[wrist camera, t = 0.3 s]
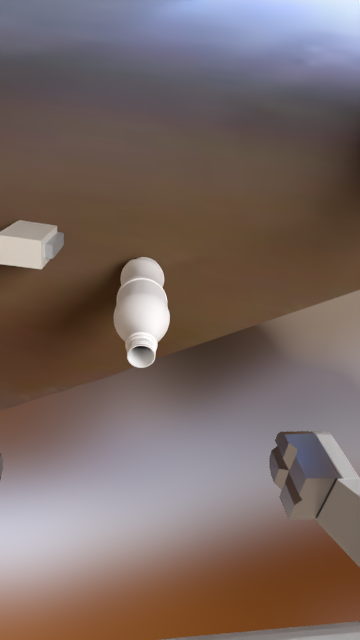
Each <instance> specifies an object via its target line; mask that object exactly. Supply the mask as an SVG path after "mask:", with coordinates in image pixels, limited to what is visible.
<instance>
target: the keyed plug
mask: <svg viewBox="0 0 360 640" xmlns="http://www.w3.org/2000/svg"><path fill="white" fill-rule="evenodd" d="M63 245H64V233H60V232H57V226H55V225H48V224H41V223H35V222H28V221H21V220H19V221H17V222H15V223H14V224H12V225H11V226H9V227H7V228H6V229H4V230H2V231H1V232H0V264H4V265H12V266H20V267H28V268H36V269H42V268H43V267H44V266H45V265H46V263H47V262H48V261H49V260H50V259H53V258H54V257H55V255H56V254H57V253H58V252H59V250H60V249H61V248H62V247H63Z"/></svg>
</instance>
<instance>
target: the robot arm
mask: <svg viewBox="0 0 360 640" xmlns="http://www.w3.org/2000/svg"><path fill="white" fill-rule="evenodd" d="M275 441H276V444H277V447H276V448H274V449H273V450H272V451H271V455H270V471H271V476H272V478H273V481H274V483H275V484H276V485H277V486H278V487H279V488H281V489H282V491H281V494H280V499H281V502H282V504H283V507H284V509H285V512H286V515H287V517H288V519H317V520H316V521H317V522H318V523H319V524H320V525H321V526H322V527H323V529H324V530H326V532H327V533H328V534H329V535H330V536H331V537H332V538H333V539H334V540H335V541H336V542H337V543H338V544H339V546H340V547H341V548H342V549H343V550H344V551H345V552H346V553H347V554H348V555H349V556H350V557H351V558H352V559H353V561H354V562H355V563H356V564H357V565H358V566H359V567H360V478H359V476H358V475H357V474H356V472H355V470H354V469H353V467H352V466H351V464H350V463H349V461H348V460H347V458H346V457H345V455H344V454H343V452H342V450H341V449H340V447H339V446H338V444H337V443H336V441H335V440H334V438H333V437H332V435H331V434H330V433H328V432H327V431H311V432H309V431H297V432H280V433H278V434H277V437H276V440H275ZM2 469H3V459H2V455H1V454H0V479H1V474H2ZM161 640H360V621H359V622H348V623H337V624H326V625H315V626H304V627H293V628H282V629H271V630H261V631H249V632H238V633H227V634H216V635H205V636H194V637H183V638H172V639H161Z"/></svg>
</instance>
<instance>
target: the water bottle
mask: <svg viewBox="0 0 360 640" xmlns="http://www.w3.org/2000/svg"><path fill="white" fill-rule="evenodd" d="M120 279H121V287H120V289H119V291H118V294H117V305H116V308H115V311H114V325H115V328H116V331H117V333H118V334H119V336H120V337H121V338H122V339H123V340H124V341H125V342H126V344H125V346H126V350H127V358H128V361H129V362H130V363H131V364H132V365H133V366H135V367H139V368H143V367H148V366H149V365H151V364H152V363H153V362H154V360H155V354H156V349H157V342H158V341H159V340H160V339H161V338H162V337H163V336H164V335H165V333H166V331H167V329H168V326H169V321H170V315H169V310H168V307H167V297H166V294H165V292H164V290H163V288H162V287H163V285H164V274H163V271H162V269H161V268H160V266H159V265H158V264H157V262H155V261H154V260H152V259H150V258H147V257H140V258H138V259H132V260H130V261H129V262H128V263H127V264H126V265H125V266H124V268H123V270H122V273H121V278H120Z"/></svg>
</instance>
